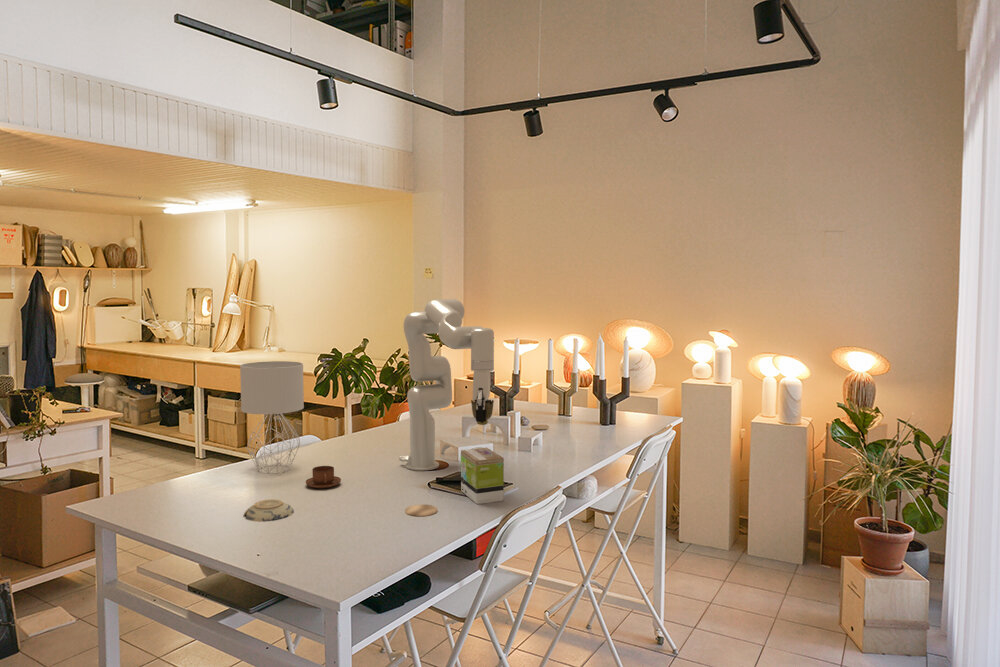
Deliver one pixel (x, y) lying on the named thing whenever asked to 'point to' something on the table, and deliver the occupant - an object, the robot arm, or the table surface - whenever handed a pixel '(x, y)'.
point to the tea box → (482, 475)
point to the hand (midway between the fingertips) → (482, 418)
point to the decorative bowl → (268, 511)
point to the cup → (487, 406)
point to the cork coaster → (421, 510)
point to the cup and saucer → (323, 477)
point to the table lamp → (272, 397)
